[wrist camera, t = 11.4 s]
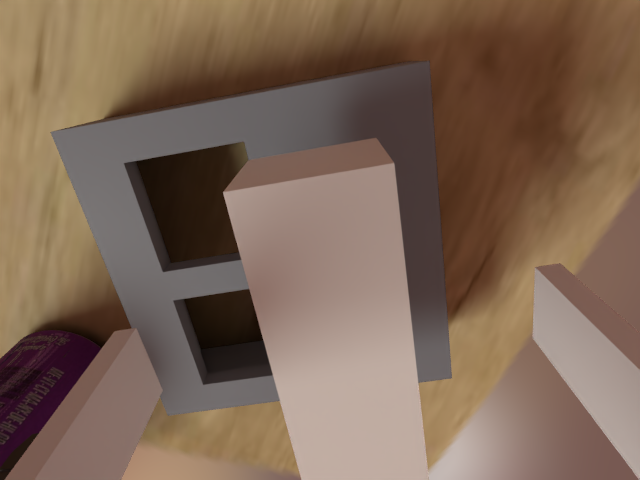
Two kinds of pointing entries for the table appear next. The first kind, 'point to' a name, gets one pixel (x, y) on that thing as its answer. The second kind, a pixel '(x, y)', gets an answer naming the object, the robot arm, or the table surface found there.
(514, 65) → the table surface
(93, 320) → the table surface
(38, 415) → the beverage can
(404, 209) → the keyhole board
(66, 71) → the table surface
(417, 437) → the bar
